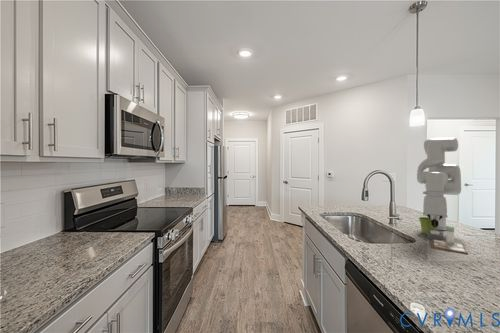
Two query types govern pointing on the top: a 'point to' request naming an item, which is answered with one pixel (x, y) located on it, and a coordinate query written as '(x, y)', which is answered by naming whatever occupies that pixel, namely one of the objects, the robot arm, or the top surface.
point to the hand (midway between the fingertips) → (434, 227)
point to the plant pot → (426, 224)
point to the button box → (434, 236)
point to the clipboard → (449, 246)
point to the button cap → (434, 232)
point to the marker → (449, 235)
